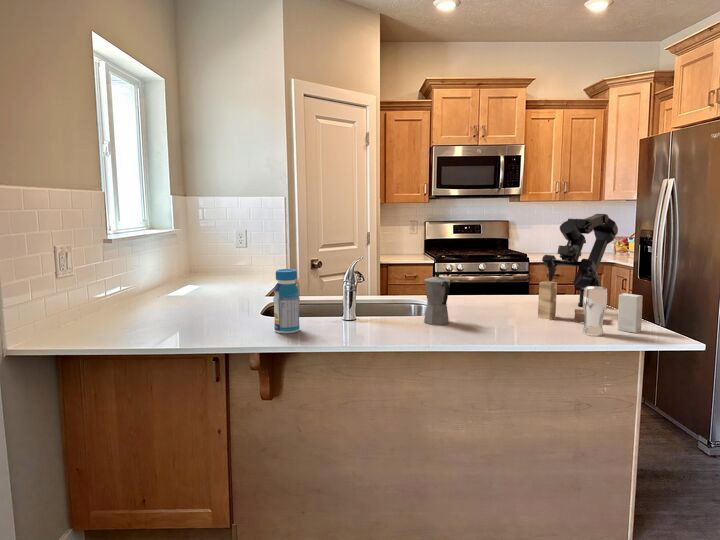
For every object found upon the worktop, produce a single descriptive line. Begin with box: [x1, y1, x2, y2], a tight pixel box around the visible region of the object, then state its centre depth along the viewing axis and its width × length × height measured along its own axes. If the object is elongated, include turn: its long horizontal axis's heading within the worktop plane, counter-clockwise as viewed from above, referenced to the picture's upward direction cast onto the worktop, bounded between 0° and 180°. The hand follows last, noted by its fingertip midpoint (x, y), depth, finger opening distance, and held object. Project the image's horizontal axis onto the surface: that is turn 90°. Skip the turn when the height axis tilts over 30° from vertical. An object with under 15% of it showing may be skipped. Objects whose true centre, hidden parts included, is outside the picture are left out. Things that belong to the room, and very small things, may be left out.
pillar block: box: [537, 280, 558, 320], centre depth 186 cm, size 4×4×13 cm
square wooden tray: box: [574, 308, 585, 323], centre depth 182 cm, size 9×9×3 cm
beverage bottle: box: [272, 268, 301, 334], centre depth 165 cm, size 8×8×20 cm
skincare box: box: [617, 292, 644, 334], centre depth 167 cm, size 6×4×12 cm
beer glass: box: [582, 286, 608, 337], centre depth 163 cm, size 7×7×15 cm
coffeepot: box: [423, 271, 451, 326], centre depth 177 cm, size 15×9×18 cm, turn 15°
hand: (561, 282), depth 191 cm, fingers open, 9 cm apart
